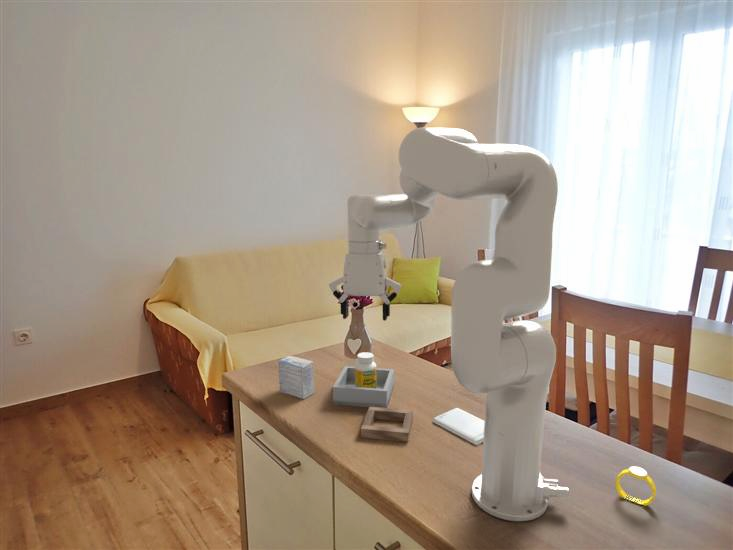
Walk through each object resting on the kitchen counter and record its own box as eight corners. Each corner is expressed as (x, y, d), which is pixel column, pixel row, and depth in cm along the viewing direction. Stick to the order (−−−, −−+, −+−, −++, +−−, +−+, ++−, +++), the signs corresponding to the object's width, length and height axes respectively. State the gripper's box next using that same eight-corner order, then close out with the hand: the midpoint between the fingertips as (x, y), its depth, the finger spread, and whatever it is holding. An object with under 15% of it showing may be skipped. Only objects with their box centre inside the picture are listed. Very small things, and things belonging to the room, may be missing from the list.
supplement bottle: (368, 384, 131) (368, 349, 129) (380, 392, 127) (380, 356, 125) (350, 390, 128) (350, 353, 126) (362, 398, 124) (362, 360, 122)
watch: (653, 505, 87) (660, 475, 86) (650, 513, 85) (657, 483, 84) (616, 489, 91) (622, 460, 89) (612, 497, 89) (618, 467, 87)
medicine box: (314, 393, 129) (314, 361, 127) (303, 400, 125) (302, 367, 123) (290, 386, 133) (289, 354, 131) (279, 392, 129) (277, 360, 127)
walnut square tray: (412, 418, 116) (413, 410, 116) (408, 441, 106) (408, 432, 106) (369, 414, 118) (369, 406, 117) (361, 437, 108) (361, 428, 108)
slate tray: (394, 385, 133) (394, 369, 132) (386, 408, 121) (386, 391, 120) (345, 381, 135) (345, 365, 134) (333, 404, 123) (332, 386, 122)
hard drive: (433, 417, 114) (477, 440, 105) (457, 406, 119) (501, 427, 110) (432, 424, 115) (476, 447, 105) (457, 413, 120) (501, 434, 110)
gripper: (403, 246, 122) (402, 315, 125) (332, 245, 125) (334, 312, 128) (399, 250, 115) (399, 324, 118) (324, 249, 118) (326, 321, 121)
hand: (365, 318), depth 123 cm, fingers open, 9 cm apart
